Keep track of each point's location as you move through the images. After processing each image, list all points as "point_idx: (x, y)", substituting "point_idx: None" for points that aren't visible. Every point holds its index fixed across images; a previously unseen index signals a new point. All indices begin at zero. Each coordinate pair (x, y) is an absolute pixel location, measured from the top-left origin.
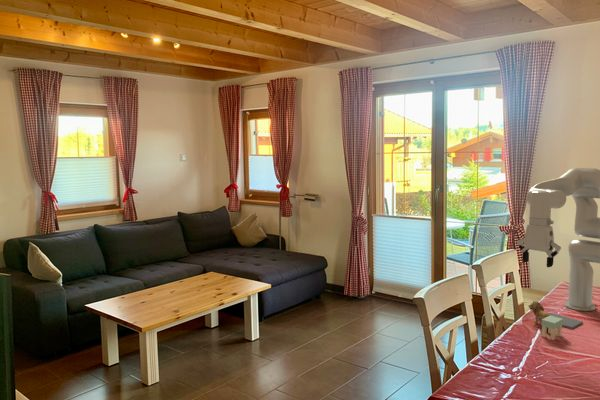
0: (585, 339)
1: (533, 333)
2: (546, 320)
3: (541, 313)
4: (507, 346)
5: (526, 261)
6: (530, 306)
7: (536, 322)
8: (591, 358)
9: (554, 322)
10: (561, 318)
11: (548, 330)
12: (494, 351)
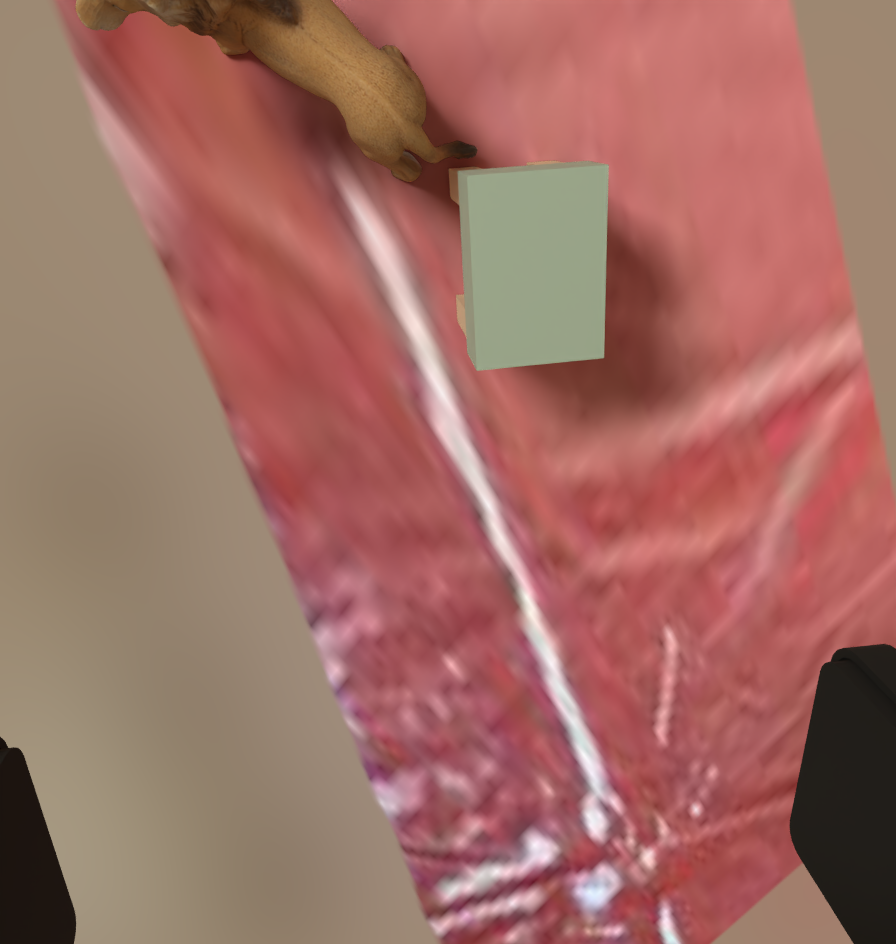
0: (729, 59)
1: (379, 316)
2: (519, 357)
3: (312, 87)
4: (409, 658)
5: (44, 856)
6: (112, 18)
7: (244, 52)
8: (854, 393)
9: (594, 341)
10: (593, 167)
11: (454, 200)
12: (407, 761)
